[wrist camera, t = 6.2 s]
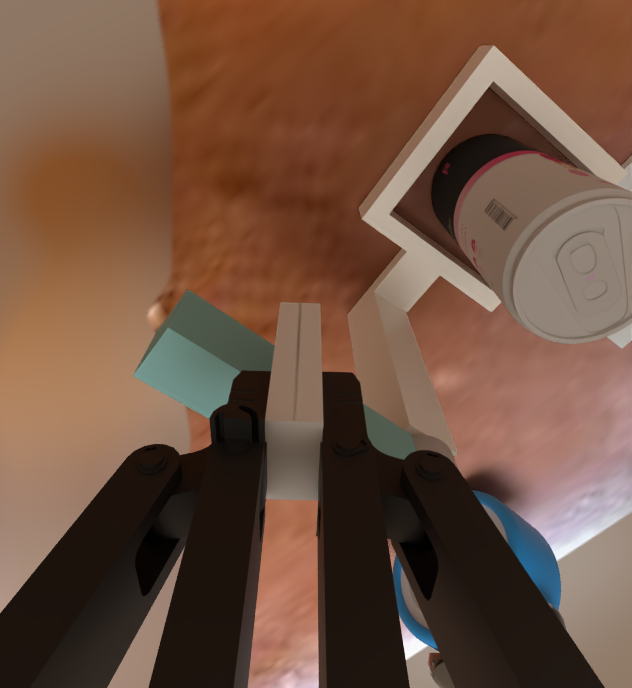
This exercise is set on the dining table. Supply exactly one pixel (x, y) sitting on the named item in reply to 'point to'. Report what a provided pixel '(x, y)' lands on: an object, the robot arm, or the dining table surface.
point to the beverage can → (541, 236)
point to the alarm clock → (527, 550)
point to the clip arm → (236, 369)
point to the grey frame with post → (430, 258)
